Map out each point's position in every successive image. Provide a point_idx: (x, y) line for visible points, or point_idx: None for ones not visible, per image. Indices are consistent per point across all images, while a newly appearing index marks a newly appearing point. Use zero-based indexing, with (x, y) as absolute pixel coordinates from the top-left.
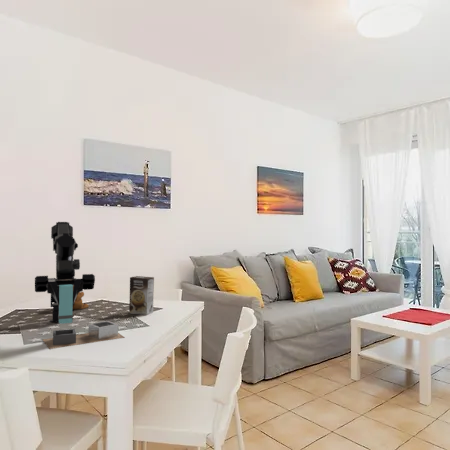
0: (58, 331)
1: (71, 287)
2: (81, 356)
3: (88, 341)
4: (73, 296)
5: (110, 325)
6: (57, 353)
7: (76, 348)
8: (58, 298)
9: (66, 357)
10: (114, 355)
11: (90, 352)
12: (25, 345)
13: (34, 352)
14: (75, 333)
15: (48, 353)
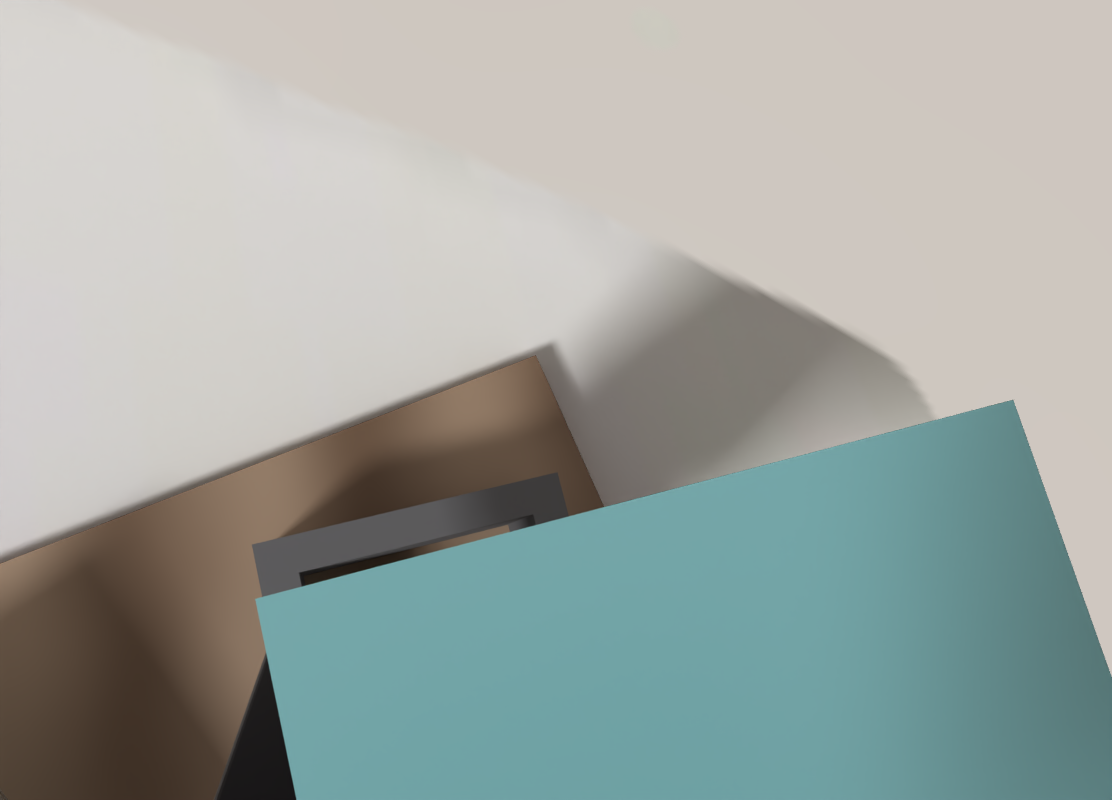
0: None
1: (353, 585)
2: (143, 133)
3: (87, 606)
4: (288, 782)
5: None
6: (428, 287)
7: (240, 433)
8: None
9: (306, 139)
10: None
11: (45, 247)
12: None
13: (669, 365)
14: (263, 568)
15: (522, 306)
